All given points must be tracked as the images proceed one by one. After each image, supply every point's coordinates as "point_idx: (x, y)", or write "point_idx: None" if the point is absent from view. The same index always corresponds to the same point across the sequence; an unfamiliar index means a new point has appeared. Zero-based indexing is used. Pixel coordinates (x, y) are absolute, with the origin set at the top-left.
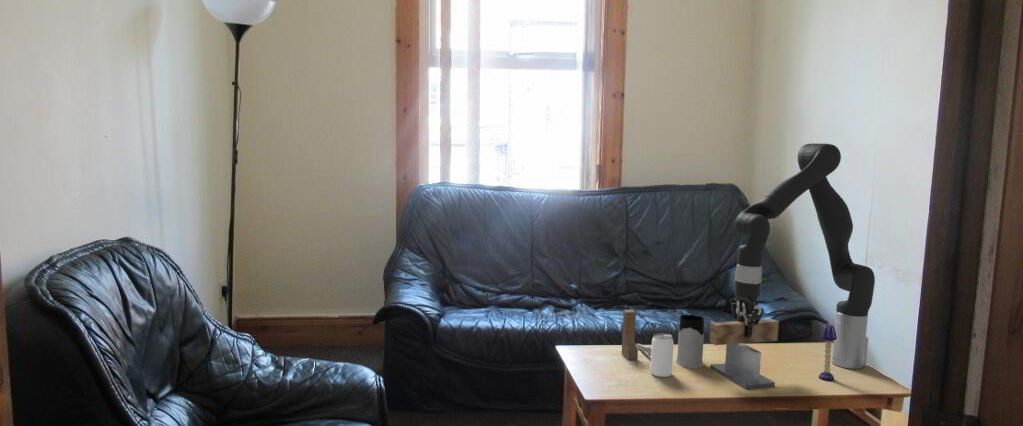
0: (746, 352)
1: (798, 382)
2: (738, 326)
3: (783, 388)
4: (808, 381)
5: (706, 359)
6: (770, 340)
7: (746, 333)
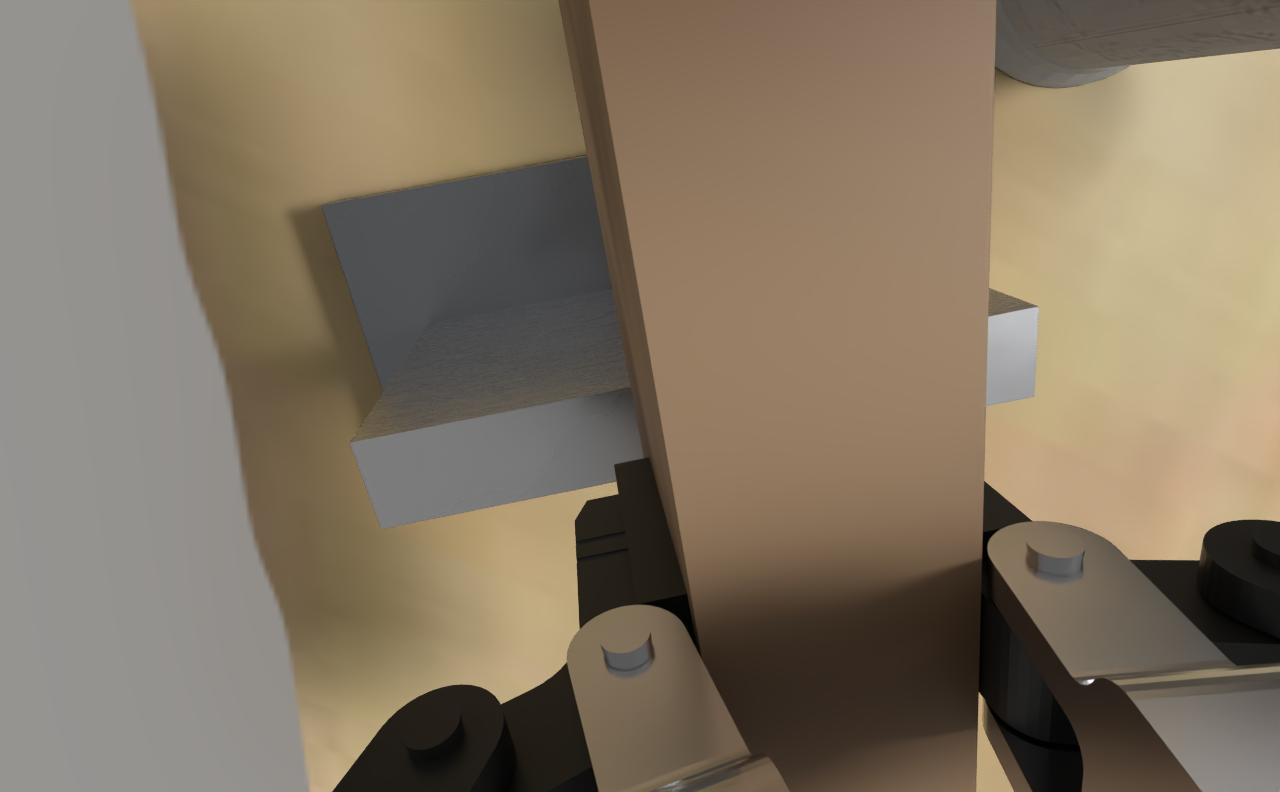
0: (555, 381)
1: (517, 676)
2: (649, 399)
3: (384, 530)
4: None
5: (1126, 178)
6: None
7: (622, 518)
